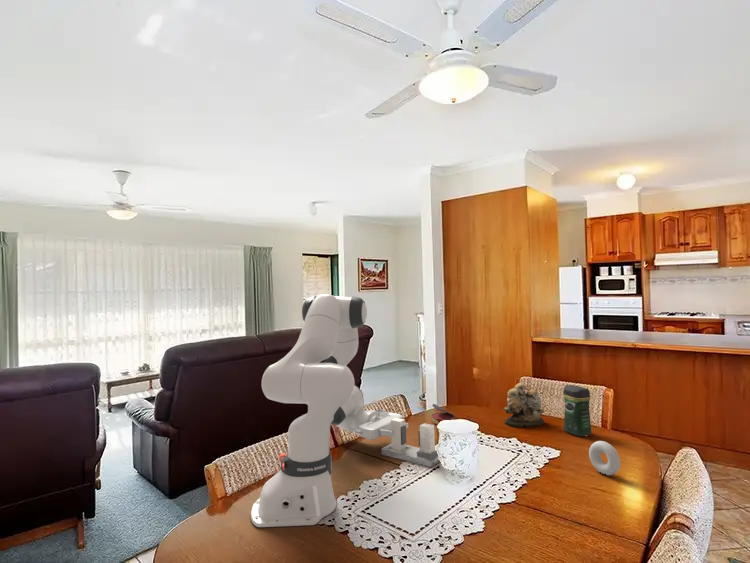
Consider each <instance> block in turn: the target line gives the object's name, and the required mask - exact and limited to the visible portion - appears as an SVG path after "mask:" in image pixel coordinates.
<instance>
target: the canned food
mask: <svg viewBox="0 0 750 563" xmlns="http://www.w3.org/2000/svg"><path fill="white" fill-rule="evenodd" d="M432 407H433V409H436V410H437V411H440V412H436V413H432V415H431V423H432V425H434V426H438V425H437V424H438V423H439V422H440V421H442V420H451V419H455V418H456V415H455V414H454V413H451V412H449V411H447V410H446V409H444V408H442V407H440V406H439V405H437V404H434V403H433V404H432ZM455 420H456V419H455Z"/></svg>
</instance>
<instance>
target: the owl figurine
mask: <svg viewBox="0 0 750 563" xmlns="http://www.w3.org/2000/svg"><path fill="white" fill-rule="evenodd" d="M526 389H527V385H526V384H524V383H522V382H518V383H517V384H515V386H514V388H510V389H509V390H508V391H507V398H506V401H507V406H506V407H503V410H504V411H505V413H506V414H509V415H510V416H508V417H507V418H505V420H504V424H506V425H508V426H510V427H512V428H518V427H520V428H522V427H523V428H526V427H532V428H535V427H534V426H538V427H540V426H539V425H542V424H543V425H544V424H545V420H544V419H543V418H542V417H541V415H542V414H544V413H545V410H544V409H541V408H542V401H541V396H539V394H538V392H537V390H535V389H532V390H531V389H530V390H528V391H527V392H526ZM543 425H542V426H543Z"/></svg>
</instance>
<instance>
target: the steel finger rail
mask: <svg viewBox="0 0 750 563" xmlns="http://www.w3.org/2000/svg"><path fill="white" fill-rule="evenodd" d="M435 438H436V437H435V425H434V424H429V423H425V422H424V423H422V424H420V425H419V430H418V446H419V447H417V446H413V445H408V444H405V447H406V451H404V452H400V451H396V450H392V449H391V443H389V444H387V445H385V446H384V447H382V448H381V449H380V450H381V452H380V454H381V455H383V456H387V457H390V458H394V459H398V460H401V461H405V462H409V463H413V464H416V465H419V466H422V467H423V466H424V467H428V468H433V467H434V466H436V465H437V464H439V463H440V462H439V459H438V454H437V451H438V450H436V442H435V441H436V440H435Z"/></svg>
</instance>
